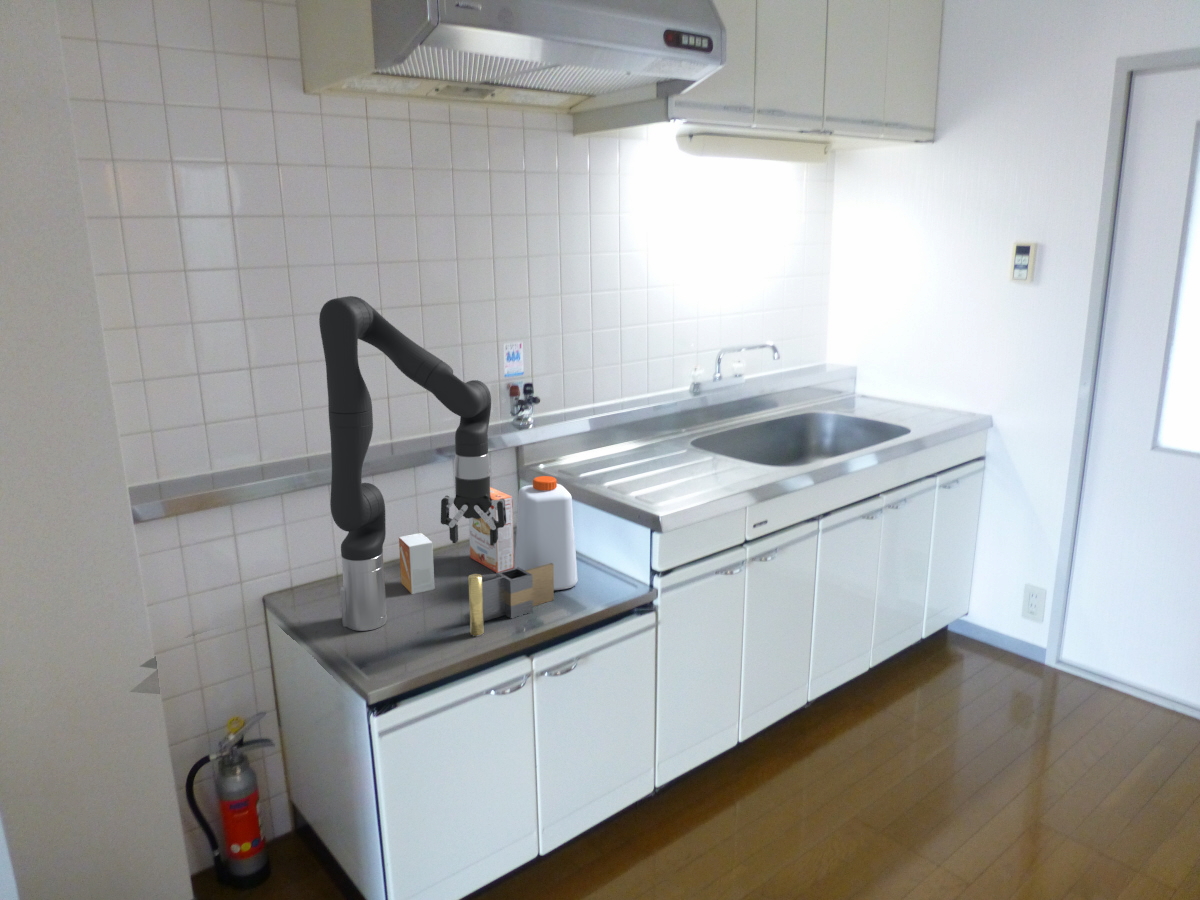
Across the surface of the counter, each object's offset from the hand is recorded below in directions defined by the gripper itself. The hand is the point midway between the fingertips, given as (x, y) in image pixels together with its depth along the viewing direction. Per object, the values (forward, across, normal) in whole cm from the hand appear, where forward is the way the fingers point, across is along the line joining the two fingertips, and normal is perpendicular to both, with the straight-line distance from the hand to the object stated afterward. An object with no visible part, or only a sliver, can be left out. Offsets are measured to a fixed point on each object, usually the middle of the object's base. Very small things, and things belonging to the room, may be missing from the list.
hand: (474, 543), depth 193 cm
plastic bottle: (+22, +10, +32) cm, 40 cm away
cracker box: (+22, -7, +42) cm, 48 cm away
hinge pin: (+22, 0, 0) cm, 22 cm away
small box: (+22, -22, +24) cm, 39 cm away
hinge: (+22, +6, +13) cm, 26 cm away
